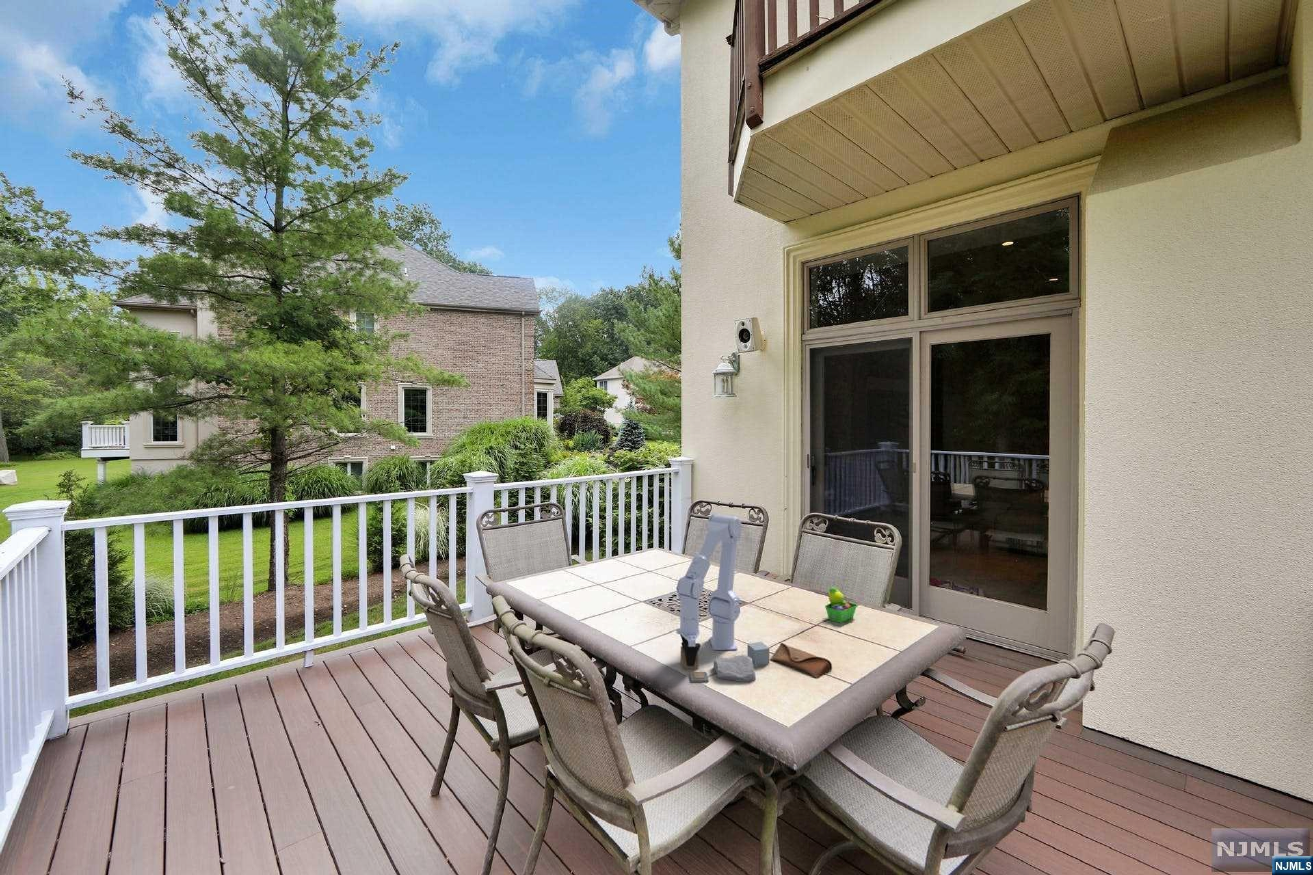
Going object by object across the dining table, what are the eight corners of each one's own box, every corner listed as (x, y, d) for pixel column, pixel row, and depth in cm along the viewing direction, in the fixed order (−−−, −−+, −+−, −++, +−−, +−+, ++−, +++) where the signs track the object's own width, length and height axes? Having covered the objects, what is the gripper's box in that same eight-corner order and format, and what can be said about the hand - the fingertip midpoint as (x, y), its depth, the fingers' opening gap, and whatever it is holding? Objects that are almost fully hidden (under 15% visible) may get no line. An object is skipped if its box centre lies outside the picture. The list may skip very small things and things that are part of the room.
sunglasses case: (766, 659, 165) (772, 638, 167) (776, 664, 169) (782, 643, 172) (819, 679, 152) (824, 656, 155) (828, 684, 157) (834, 661, 159)
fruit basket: (841, 624, 194) (842, 594, 193) (821, 617, 200) (821, 588, 200) (858, 617, 201) (858, 588, 200) (837, 611, 208) (837, 583, 207)
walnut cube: (680, 662, 163) (680, 646, 163) (696, 661, 164) (696, 646, 163) (682, 669, 158) (682, 653, 158) (698, 669, 159) (698, 653, 158)
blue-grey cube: (747, 659, 166) (747, 643, 165) (761, 657, 167) (761, 641, 167) (754, 666, 161) (755, 650, 161) (769, 663, 162) (769, 648, 162)
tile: (689, 673, 156) (689, 671, 156) (706, 673, 156) (706, 671, 156) (691, 682, 151) (691, 679, 151) (708, 681, 151) (708, 679, 151)
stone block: (758, 687, 152) (751, 665, 161) (758, 673, 150) (751, 651, 160) (717, 689, 151) (712, 666, 161) (717, 675, 150) (712, 653, 160)
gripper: (674, 607, 168) (674, 649, 168) (678, 625, 153) (678, 671, 154) (696, 607, 168) (696, 649, 168) (702, 625, 153) (702, 670, 154)
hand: (689, 659), depth 161 cm, fingers open, 7 cm apart
